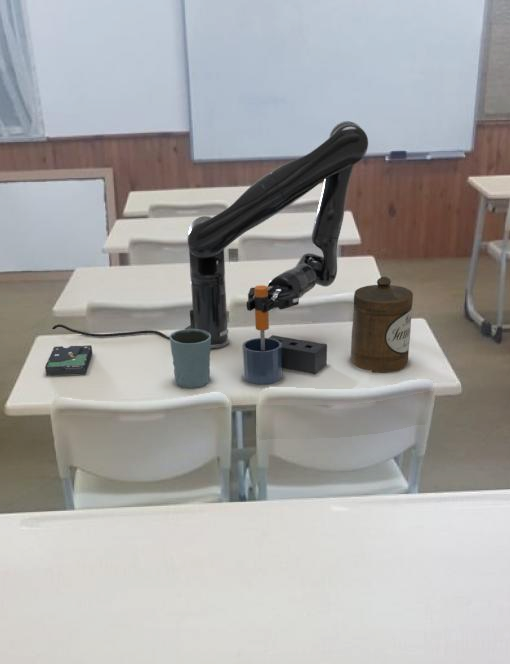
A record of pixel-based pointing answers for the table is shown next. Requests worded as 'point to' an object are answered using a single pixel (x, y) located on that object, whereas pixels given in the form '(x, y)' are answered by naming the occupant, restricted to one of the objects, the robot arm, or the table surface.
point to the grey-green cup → (191, 357)
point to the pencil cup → (262, 361)
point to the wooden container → (381, 327)
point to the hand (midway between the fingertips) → (255, 307)
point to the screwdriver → (260, 317)
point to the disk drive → (69, 360)
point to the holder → (302, 354)
